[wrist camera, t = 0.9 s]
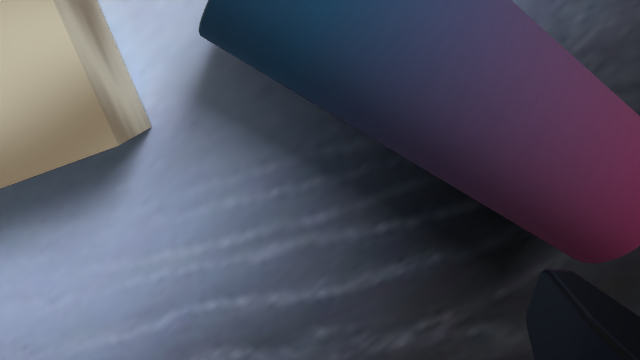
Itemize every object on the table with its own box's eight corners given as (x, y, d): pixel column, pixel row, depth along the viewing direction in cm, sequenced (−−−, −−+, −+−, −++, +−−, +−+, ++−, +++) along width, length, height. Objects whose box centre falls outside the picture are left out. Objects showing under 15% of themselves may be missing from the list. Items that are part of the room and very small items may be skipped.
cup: (595, 325, 18) (176, 44, 15) (521, 234, 24) (220, 27, 21) (765, 152, 16) (324, -205, 13) (636, 104, 22) (322, -141, 19)
